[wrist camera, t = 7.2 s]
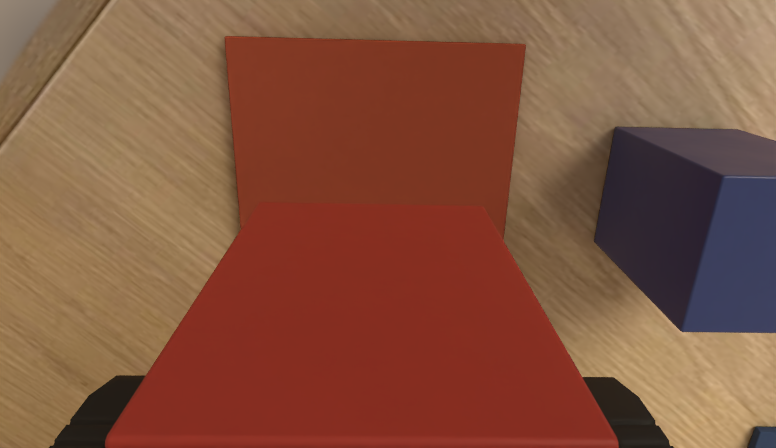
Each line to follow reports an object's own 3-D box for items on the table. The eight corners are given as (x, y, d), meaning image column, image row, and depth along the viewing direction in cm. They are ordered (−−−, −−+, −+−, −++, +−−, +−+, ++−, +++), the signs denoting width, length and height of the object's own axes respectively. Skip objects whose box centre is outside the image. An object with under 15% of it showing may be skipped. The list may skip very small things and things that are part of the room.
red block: (257, 200, 11) (100, 439, 5) (484, 204, 12) (624, 441, 5) (270, 386, 13) (167, 742, 7) (466, 388, 13) (552, 738, 7)
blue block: (614, 126, 21) (723, 175, 14) (738, 129, 21) (902, 179, 14) (593, 242, 22) (681, 332, 16) (707, 243, 23) (840, 334, 16)
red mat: (227, 36, 19) (224, 36, 19) (523, 43, 19) (526, 44, 19) (248, 298, 23) (246, 302, 23) (494, 301, 23) (496, 306, 23)
